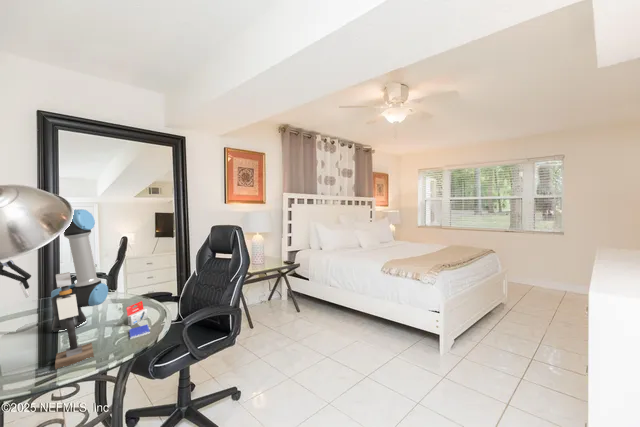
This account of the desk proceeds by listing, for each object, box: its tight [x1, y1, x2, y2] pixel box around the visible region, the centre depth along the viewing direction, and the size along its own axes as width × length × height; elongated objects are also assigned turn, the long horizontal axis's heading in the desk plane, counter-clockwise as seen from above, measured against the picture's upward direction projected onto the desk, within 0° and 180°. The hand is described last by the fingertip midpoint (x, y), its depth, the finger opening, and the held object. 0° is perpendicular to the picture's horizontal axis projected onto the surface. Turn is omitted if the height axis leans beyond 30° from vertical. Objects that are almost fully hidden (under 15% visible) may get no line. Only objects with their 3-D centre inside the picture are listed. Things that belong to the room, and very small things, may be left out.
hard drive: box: [128, 324, 151, 340], centre depth 146 cm, size 2×8×12 cm
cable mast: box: [54, 271, 95, 370], centre depth 125 cm, size 14×12×36 cm
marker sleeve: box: [57, 294, 78, 320], centre depth 124 cm, size 6×6×8 cm
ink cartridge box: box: [125, 300, 149, 326], centre depth 162 cm, size 2×11×10 cm, turn 168°
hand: (5, 303), depth 120 cm, fingers open, 13 cm apart
